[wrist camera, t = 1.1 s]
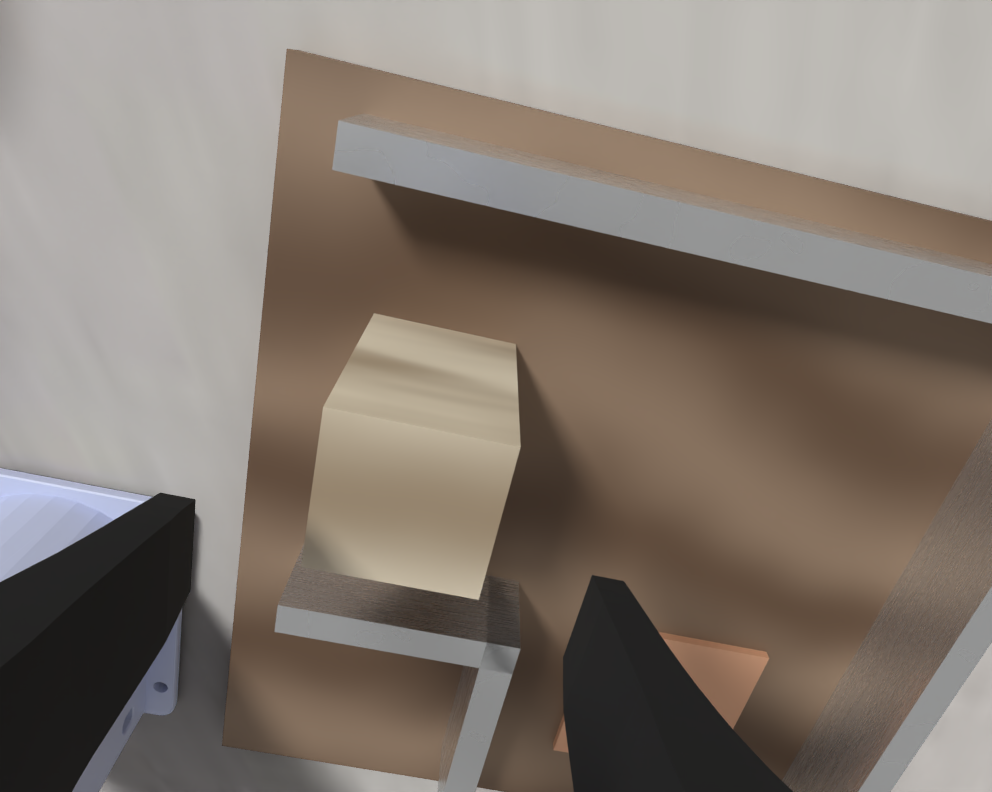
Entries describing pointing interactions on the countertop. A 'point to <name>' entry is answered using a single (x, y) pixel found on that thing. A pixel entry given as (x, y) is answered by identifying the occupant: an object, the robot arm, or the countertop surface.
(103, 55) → the countertop surface
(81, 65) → the countertop surface
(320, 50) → the countertop surface
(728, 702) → the pad
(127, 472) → the countertop surface
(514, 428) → the maple block
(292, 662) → the walnut board
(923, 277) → the channel walls
